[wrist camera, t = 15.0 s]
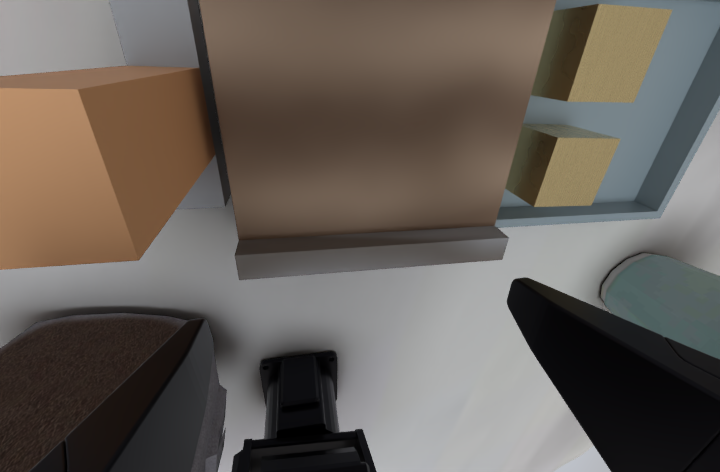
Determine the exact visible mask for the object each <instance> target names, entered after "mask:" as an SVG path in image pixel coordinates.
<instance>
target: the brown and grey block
mask: <svg viewBox="0 0 720 472" xmlns="http://www.w3.org/2000/svg"><path fill="white" fill-rule="evenodd" d="M109 3H110V7H111V10H112V14H113V18H114V21H115V25H116V28H117V32H118V35H119V39H120V42H121V46H122V50H123V53H124V57H125V60H126V64H127V66H117V67H105V68H94V69H82V70H70V71H58V72H46V73H35V74H23V75H11V76H0V270H2V269H17V268H32V267H47V266H62V265H77V264H92V263H106V262H121V261H136V260H140V258H141V257H142V255H143V254H144V253H145V251H146V250H147V249H148V247H149V246H150V244H151V243H152V242H153V240H154V239H155V237H156V236H157V235H158V233H159V232H160V231H161V229H162V228H163V226H164V225H165V224H166V222H167V221H168V219H169V218H170V217H171V215H172V214H173V213H174V211H175V210H176V209H195V208H218V207H226V204H227V202H228V199H229V197H230V195H231V193H230V187H229V181H228V175H227V170H226V164H225V158H224V152H223V146H222V140H221V135H220V129H219V123H218V117H217V111H216V106H215V100H214V94H213V88H212V82H211V76H210V71H209V65H208V59H207V53H206V47H205V42H204V36H203V30H202V24H201V18H200V12H199V7H198V1H197V0H109Z"/></svg>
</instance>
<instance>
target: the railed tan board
mask: <svg viewBox="0 0 720 472" xmlns="http://www.w3.org/2000/svg"><path fill="white" fill-rule="evenodd" d="M199 3H200V9H201V15H202V21H203V27H204V33H205V39H206V45H207V51H208V57H209V63H210V69H211V75H212V82H213V88H214V94H215V100H216V106H217V112H218V118H219V124H220V130H221V136H222V142H223V148H224V154H225V160H226V166H227V172H228V178H229V184H230V190H231V196H232V202H233V208H234V214H235V220H236V226H237V232H238V238H239V242H238V246H237V249H236V253H235V259H236V265H237V270H238V276H239V280H247V279H260V278H273V277H286V276H298V275H311V274H324V273H337V272H350V271H362V270H375V269H388V268H401V267H414V266H426V265H439V264H452V263H465V262H477V261H490V260H502V259H503V255H504V252H505V249H506V246H507V242H508V239H509V237H507V236H506V235H505V234H504V233H503V232H501V231H500V230H499V229H498V228H497V227H496V226H495V223H496V219H497V216H498V212H499V208H500V205H501V201H502V198H503V194H504V190H505V187H506V183H507V179H508V176H509V172H510V168H511V165H512V161H513V157H514V154H515V150H516V146H517V143H518V139H519V135H520V132H521V128H522V125H523V121H524V117H525V114H526V110H527V106H528V103H529V99H530V95H531V92H532V88H533V84H534V81H535V77H536V73H537V70H538V66H539V62H540V59H541V55H542V52H543V48H544V44H545V41H546V37H547V33H548V30H549V26H550V22H551V19H552V15H553V11H554V8H555V4H556V0H199Z"/></svg>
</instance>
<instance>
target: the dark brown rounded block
mask: <svg viewBox="0 0 720 472" xmlns="http://www.w3.org/2000/svg"><path fill="white" fill-rule="evenodd" d="M186 322H187V320H182V319H178V318H174V317H169V316H158V315H144V314H131V313H111V314H92V315H73V316H68V317H62V318H57V319H52V320H47V321H41V322H36V323H35V324H34V325H32V326H31V327H30V328H28V329H27V330H25V331H24V332H23V333H21V334H20V335H18V336H17V337H16V338H14V339H13V340H11V341H10V342H9V343H7V344H6V345H4V346H3V347H2V348H0V472H29V471H30V470H31V469H32V468H33V467H34V466H35V465H36V464H37V463H38V462H40V461H41V460H42V459H43V458H44V457H45V456H46V455H47V454H48V453H49V452H50V451H51V450H52V449H53V448H54V447H55V446H56V445H58V444H59V443H60V442H61V441H65V437H66V436H67V435H68V434H69V433H70V432H71V431H72V430H73V429H74V428H76V427H77V426H78V425H79V424H80V423H81V422H82V421H83V420H84V419H85V418H86V417H87V416H88V415H89V414H90V413H91V412H92V411H93V410H94V409H95V408H97V407H98V406H99V405H100V404H101V403H102V402H103V401H104V400H105V399H106V398H107V397H108V396H109V395H110V394H111V393H112V392H113V391H114V390H115V389H116V388H118V387H119V386H120V385H121V384H122V383H123V382H124V381H125V380H126V379H127V378H128V377H129V376H130V375H131V374H132V373H133V372H134V371H135V370H136V369H137V368H139V367H140V366H141V365H142V364H143V363H144V362H145V361H146V360H147V359H148V358H149V357H150V356H151V355H152V354H153V353H154V352H155V351H156V350H157V349H158V348H160V347H161V346H162V345H163V344H164V343H165V342H166V341H167V340H168V339H169V338H170V337H171V336H172V335H173V334H174V333H175V332H176V331H177V330H178V329H179V328H181V327H182V326H183V325H184V324H185V323H186ZM226 393H227V390H226V389H225V388H223V387H222V386H221V385H220V384H219V380H218V373H217V367H216V361H215V354H214V350H213V358H212V366H211V375H210V383H209V392H208V399H207V406H206V410H205V415H204V419H203V423H202V428H201V432H200V436H199V440H198V444H197V448H196V453H195V457H194V461H193V465H192V469H191V472H218V468H219V463H220V459H221V455H222V451H223V447H224V439H225V430H224V433H223V426H224V420H225V409H226ZM225 429H226V428H225ZM222 433H223V436H222Z"/></svg>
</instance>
